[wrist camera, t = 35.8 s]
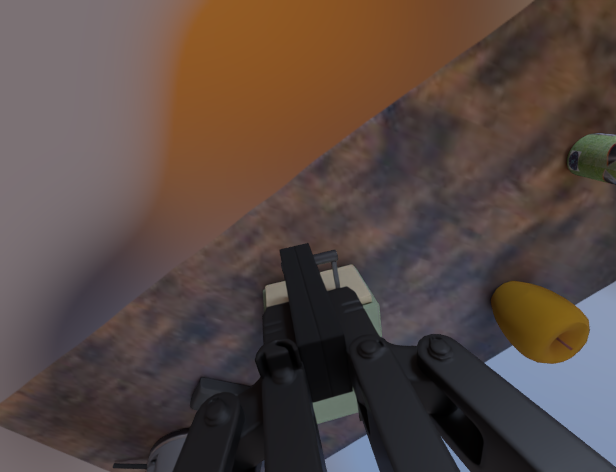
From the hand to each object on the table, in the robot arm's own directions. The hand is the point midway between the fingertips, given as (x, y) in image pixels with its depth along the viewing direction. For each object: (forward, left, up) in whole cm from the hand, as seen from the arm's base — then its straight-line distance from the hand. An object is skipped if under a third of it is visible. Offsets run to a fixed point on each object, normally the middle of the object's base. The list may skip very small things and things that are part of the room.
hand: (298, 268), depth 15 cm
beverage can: (+45, -7, -25) cm, 52 cm away
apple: (+36, -31, -25) cm, 54 cm away
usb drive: (-16, -37, -25) cm, 47 cm away
